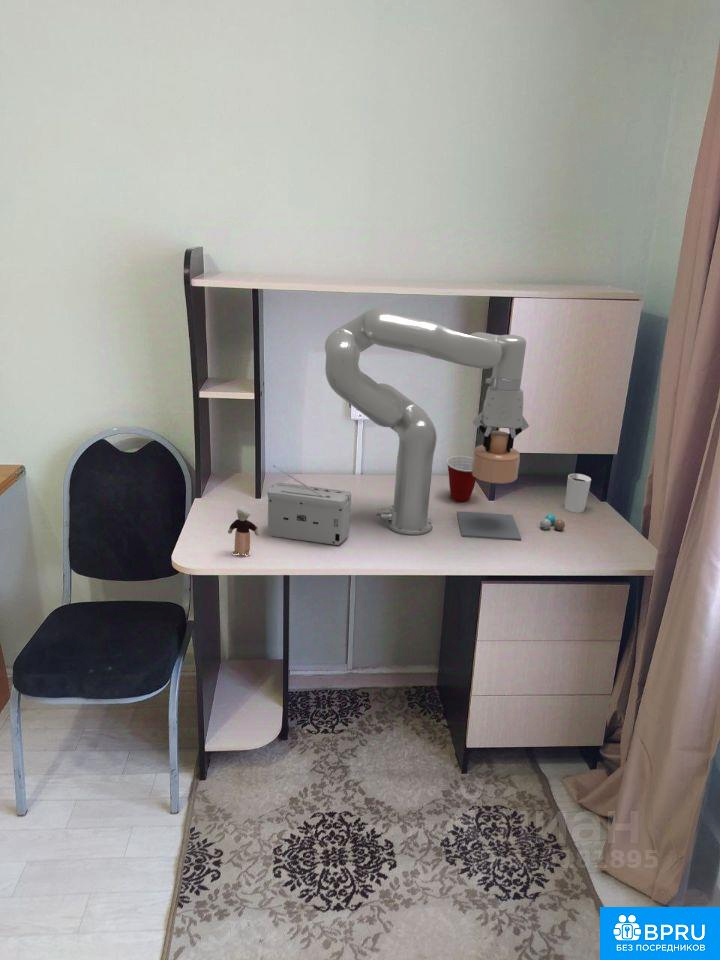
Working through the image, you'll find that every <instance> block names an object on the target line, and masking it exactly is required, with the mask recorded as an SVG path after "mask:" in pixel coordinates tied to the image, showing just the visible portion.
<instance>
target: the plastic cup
mask: <svg viewBox="0 0 720 960" xmlns="http://www.w3.org/2000/svg"><path fill="white" fill-rule="evenodd" d="M472 462H473V456H465V455H452V456H450V457H447V459H446V464H447V469H448V480H449V482H448V483H449V490H450V491H449V492H450V499H451V500H452V501H454V502H458V503H467V502H469V501H470V499H471V497H472V494H473V491H474V487H475V485H476V481H477V478H476V477H474V476H473V475H472V472H471V471H472Z"/></svg>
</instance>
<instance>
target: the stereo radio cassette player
mask: <svg viewBox="0 0 720 960" xmlns="http://www.w3.org/2000/svg"><path fill="white" fill-rule="evenodd" d="M272 467H273V468H276V469H278V470H279V471H280V472H282V474H283V473H284V474H285V475H286V476H288V477H290V478H291V479H293V480H294V481H295V482H297V483H299V484H294V483H287V482H281V481H280V482H279V481H278V482H277V481H275V482H273V484H272V485H271V486H270V487H269V489H268V490H267V532H268V533H269V535H270V536H271V537H273V536H274V537H278V538H284V539H290V540H291V539H292V540H298V541H305V542H313V543H319V544H325V545H333V546H334V545H335V546H336V545H338V546H339V545H341V544H342V543H343V542H344V541H345V540H346V538H348V537H347V536H348V535H349V533H350V525H351V524H350V523H351V507H352V506H351V505H352V494H351V491H349V490H342V489H334V488H333V489H332V488H327V487H325V488H324V487H317V486H311V485H310V486H309V485H307V484H306V483H304V482H302V481H301V480H299V479H297V478H295V477H294V476H292V475H291V474H289V473H287V472H286V471H284V470H282V469H280V468H279V467H277V466H276V465H275V464H273V466H272Z"/></svg>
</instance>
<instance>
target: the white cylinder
mask: <svg viewBox="0 0 720 960" xmlns="http://www.w3.org/2000/svg"><path fill="white" fill-rule="evenodd" d="M591 482H592V478H591V477H590V476H588V475H585V474H582V473H570V474H568V475H567V483H566V484H567V485H566V491H565V492H566V493H565V499H564V500H565V501H564V509H565V510H566V511H569V512H571V513H578V514H579V513H583V512H585V508H586V505H587V500H588V495H589V492H590V487H591Z"/></svg>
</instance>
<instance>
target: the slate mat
mask: <svg viewBox="0 0 720 960" xmlns="http://www.w3.org/2000/svg"><path fill="white" fill-rule="evenodd" d="M456 515H457V520H458V521H457V522H458V525H459V532H460V535H461V537H462V538H472V537H473V538H476V539H489V540H490V539H492V540H505V541H508V540H509V541H522V537H521V534H520V531H519V528H518V526H517V523H516V520H515V517H514V515H513V514H510V513H508V514H507V513H494V512H493V513H492V512H480V511H479V512H477V511H463V510H456Z"/></svg>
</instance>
